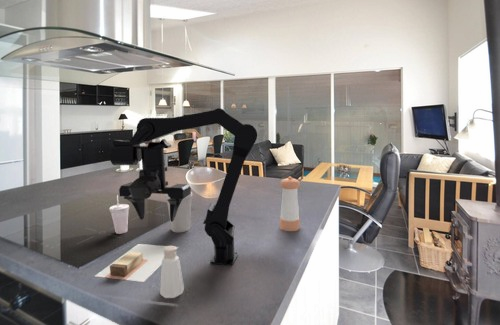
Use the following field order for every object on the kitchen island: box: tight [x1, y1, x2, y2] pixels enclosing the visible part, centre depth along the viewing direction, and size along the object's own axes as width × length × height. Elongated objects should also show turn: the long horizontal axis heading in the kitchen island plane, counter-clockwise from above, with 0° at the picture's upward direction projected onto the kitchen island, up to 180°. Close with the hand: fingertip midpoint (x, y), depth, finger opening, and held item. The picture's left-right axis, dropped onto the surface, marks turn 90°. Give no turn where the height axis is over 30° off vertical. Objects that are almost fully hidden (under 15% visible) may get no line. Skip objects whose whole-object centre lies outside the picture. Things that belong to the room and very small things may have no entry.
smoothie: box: [109, 194, 130, 235], centre depth 97 cm, size 6×6×14 cm
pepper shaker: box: [159, 245, 185, 299], centre depth 62 cm, size 5×5×11 cm
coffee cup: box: [164, 191, 194, 233], centre depth 99 cm, size 10×10×15 cm
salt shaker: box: [279, 176, 301, 232], centre depth 100 cm, size 7×7×19 cm
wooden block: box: [110, 252, 143, 277], centre depth 73 cm, size 8×4×2 cm, turn 168°
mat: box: [94, 243, 180, 283], centre depth 78 cm, size 19×14×1 cm
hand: (157, 220), depth 76 cm, fingers open, 9 cm apart
